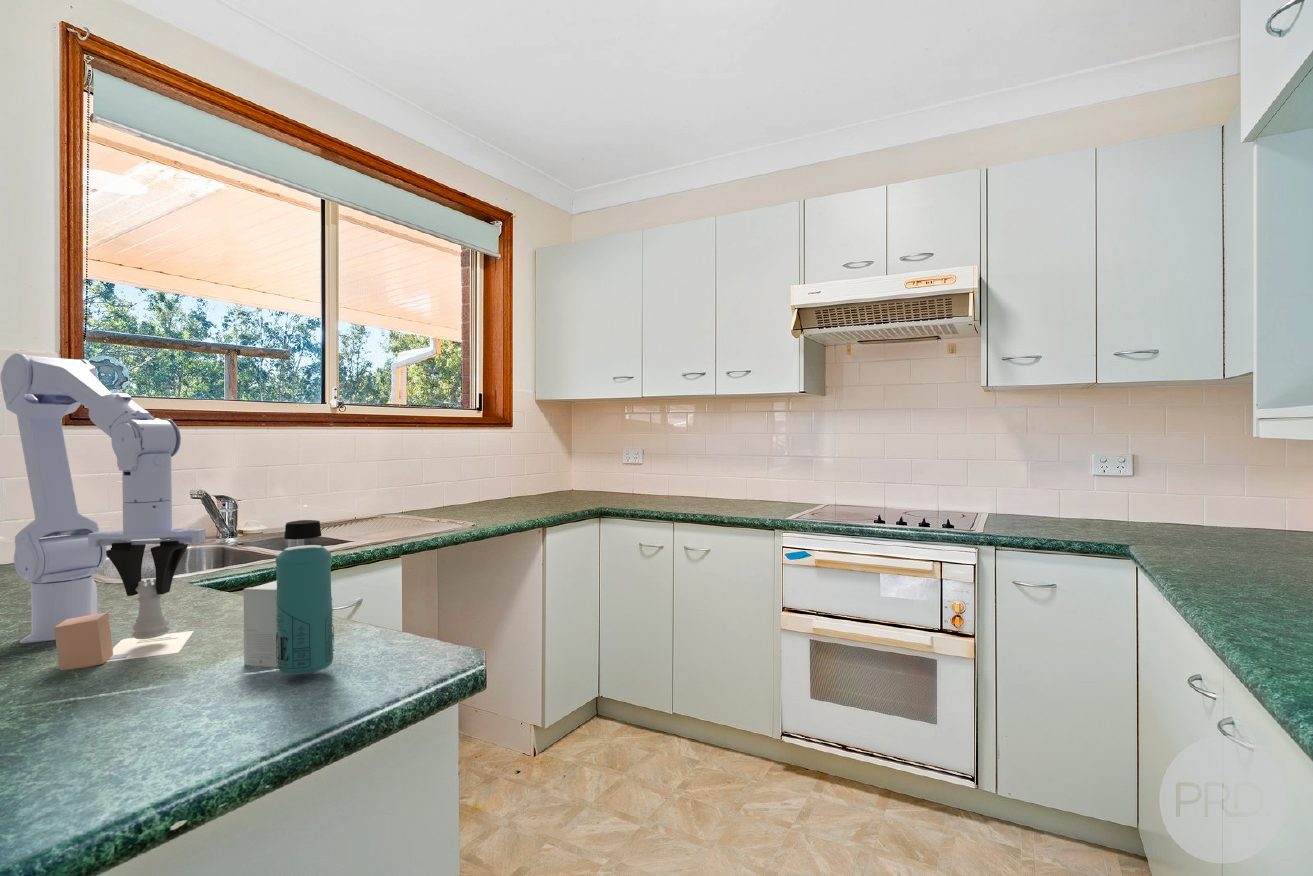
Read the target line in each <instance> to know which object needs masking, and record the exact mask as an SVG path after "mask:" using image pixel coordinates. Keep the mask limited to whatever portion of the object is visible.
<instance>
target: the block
mask: <svg viewBox="0 0 1313 876" xmlns="http://www.w3.org/2000/svg"><path fill="white" fill-rule="evenodd" d="M54 632H55V639H56V640H55V643H56V644H55V645H56V653H57V660H58V667H59V671H65V670H75V669H81V668H88V667H94V666H99V665H104V664H105V663H106V662H105V661H107V660H108V659H109V658H110V657H111V656H112V655H113V648H114V647H113V640H112V634H111V633H112V632H111V625H110V619H109V612H108V611H107V612H101V613H97V614H94V615H88V616H83V617H77V618H71V619H66V620H65V621H63V622H62V623H60V624H59V625H57V626H56V627H54Z"/></svg>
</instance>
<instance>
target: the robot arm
mask: <svg viewBox="0 0 1313 876" xmlns="http://www.w3.org/2000/svg"><path fill="white" fill-rule="evenodd" d="M0 383H1V388H2V395H3V401H4V402H5V408H6V410H7V411H9V412H11V413H12V414H14V415H16V419H17V424H18V430H19V435H20V442H21V447H22V451H23V453H22V454H23V458H24V463H25V469H26V475H27V480H28V485H29V490H30V497H31V503H32V508H33V512H34V520H33V521H31V522H30V523H28V524H27V525H26V526H25V527H24V528H22V529H21V530H20V531H18V533H16V535H15V536H14V546H15V549H14V554H13V565H14V569H15V571H16V573H17V574H18V576H19V577H20V578H22V579H23V580H24V581H25V582H28V583H30V592H31V593H30V598H31V600H30V601H31V602H30V604H31V607H30V609H31V611H30V612H31V615H30V616H31V619H30V620H31V633H29V634H28V635H27V636H25V637H24V638H22V639H20V640H19V644H26V643H27V644H28V643H36V642H46V641H47V642H48V641H56V639H55V632H54V627H56V626H57V625H59V624H60V623H62V622H63V621H65V620H66V619H71V618H77V617H83V616H88V615H94V614H98V586H97V582H96V581H95V580H94V579H93V576H94V575H97V574H98V571H99V569H101V568H102V567H103V565H104V564H105V561H106V559H107V558H108V559H109V560H110V562H111V563H112V564H113V566H114V568H116V570H117V572H118V574H119V576H120V579H121V580H122V584H123V587H124V590H125V594H126V596H127V597H133V596H135V595H139V593H138V592H137V591H136V590H135V589H136V588H137V586H138V582H140V581H142V567H143V566H142V565H143V559H144V554H145V550H146V545H156V546H153V547H150V553H151V555H152V559H153V560H152V561H153V564H154V571H155V579H156V592H157V595H161V596H162V595H164V594H167V593H170V591H171V586H172V583H173V579H174V576H175V572H176V570H177V568H178V565H179V564H180V561H181V559H182V557H184V556H183V555H184V554H185V552H186V551H187V550H188V546H189V545H188V544H200V543H204V542H206V528H173V512H172V511H173V510H172V509H173V506H172V505H173V503H172V502H173V501H172V497H173V496H172V494H173V492H172V491H173V489H172V487H173V486H172V457H174V456H175V455H176V454H177V453H178V452H179V450H180V447H181V443H182V436H181V432H180V429H179V427H178V426H177V424H176V423H175V422H174V420H173V419H170V418H155V417H154V416H153V415H151V414H150V412H149V411H148V410H146V409H143V408H142V406H140V405H139V404H137V403H136V402H135V401H134V400H132V399H133V396H131V395H129V393H120V392H119V393H116V392H115V393H114V392H113V393H112V392H111V391H110V390H109V389H108V388H106V386H105V385H104V384H103V383H102V382H101V381H100V380H99V379H98V378H97V368H96V366H94V365H93V364H91V363H90V361H89V360H86V359H84V358H78V359H74V358H61V357H51V356H41V355H40V356H39V355H29V354H23V353H19V352H18V353H17V352H16V353H13V354H11V355H10V356H9V357H8V358H7V359H6V360H5V361H4V363H3V367H2V369H1V372H0ZM81 405H82V406H84V407H85V408H87V409H88V417H89V420H90V421H91V422H92V423H93V424H94V425H95V426H96V427H98V428H99V430H101V431H102V432H103V433H104V434H106V435H107V436H108V437H109V438H111V447H112V450H113V452H114V454H115V456H116V460H117V461H116V464H117V468H118V470H119V471H121V473H122V477H121V479H122V483H121V484H122V530H114V531H100V528H99V524H98V522H96V521H95V520H93V519H90V518H89V517H87V516H85V515H82V514H80V513H79V511H78V510H79V509H78V506H77V501H76V495H75V491H74V485H73V484H74V483H73V480H72V473H71V468H70V462H69V457H68V453H67V447H66V443H65V442H66V441H65V437H64V432H63V425H62V419H63V418H64V416H66V415H69V414H72V413H75V412H76V411H77V410H78V408H80V406H81ZM150 539H151V540H150ZM154 539H155V540H154ZM110 546H111V547H110ZM108 547H110V549H108Z"/></svg>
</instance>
